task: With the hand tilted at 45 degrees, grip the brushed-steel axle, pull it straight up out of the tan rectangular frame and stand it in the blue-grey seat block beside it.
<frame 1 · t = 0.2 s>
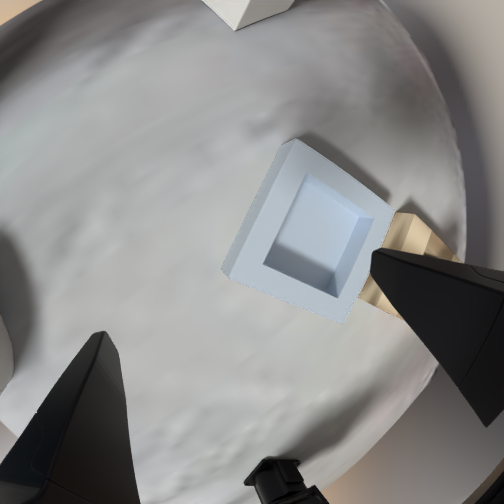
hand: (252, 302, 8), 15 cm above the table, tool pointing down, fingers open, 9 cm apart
seat block: (308, 234, 25), on the table
milk carton: (240, 1, 20), on the table
tan rectangular frame: (411, 276, 31), on the table
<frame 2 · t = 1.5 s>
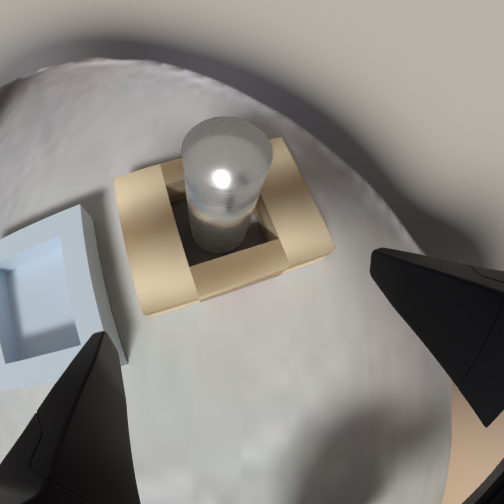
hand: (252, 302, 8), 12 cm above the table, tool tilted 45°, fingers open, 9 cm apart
steel axle: (221, 196, 17), in the tan rectangular frame
seat block: (46, 307, 18), on the table
tan rectangular frame: (218, 226, 22), on the table
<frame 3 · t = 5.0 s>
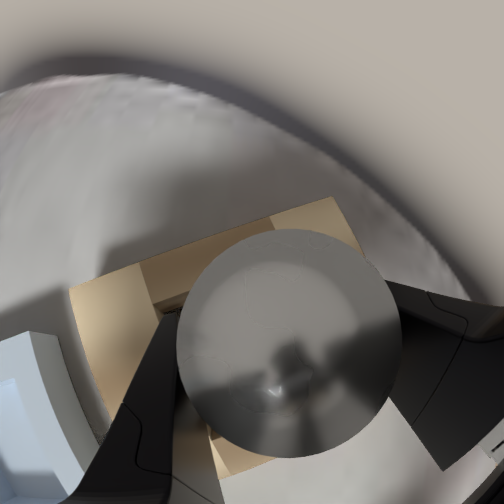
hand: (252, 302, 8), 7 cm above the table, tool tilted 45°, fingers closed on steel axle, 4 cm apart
steel axle: (258, 346, 9), in the tan rectangular frame, touching gripper
seat block: (26, 443, 9), on the table
tan rectangular frame: (243, 347, 14), on the table
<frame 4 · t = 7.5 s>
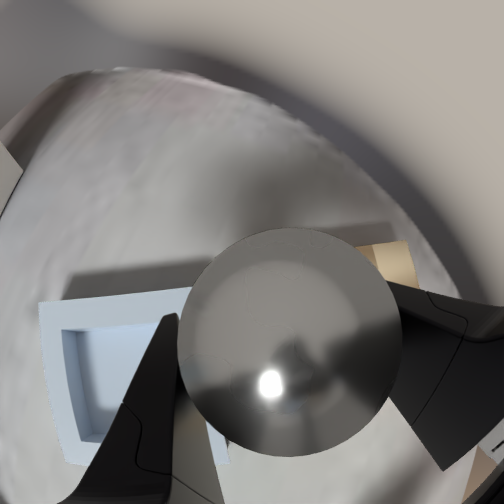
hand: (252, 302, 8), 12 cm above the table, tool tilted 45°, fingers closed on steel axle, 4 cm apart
steel axle: (259, 346, 9), point 11 cm above the table, touching gripper
seat block: (132, 382, 17), on the table
tan rectangular frame: (335, 324, 21), on the table
when the fingers open (8 cm above the table, at t = 10.1 s): steel axle drops 1 cm, resting on seat block.
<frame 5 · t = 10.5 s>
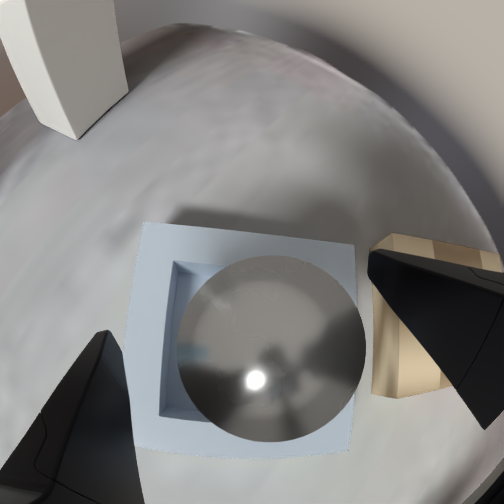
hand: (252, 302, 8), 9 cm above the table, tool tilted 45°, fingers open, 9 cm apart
steel axle: (251, 349, 11), in the seat block, point 6 cm above the table
seat block: (239, 347, 16), on the table
milk carton: (82, 108, 21), on the table
tan rectangular frame: (441, 318, 18), on the table
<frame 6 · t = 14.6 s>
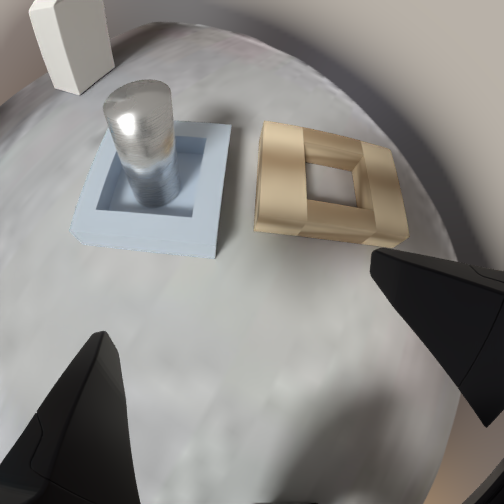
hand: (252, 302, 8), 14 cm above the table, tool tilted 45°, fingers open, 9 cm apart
steel axle: (147, 149, 19), in the seat block, point 6 cm above the table
seat block: (157, 189, 24), on the table
milk carton: (84, 78, 29), on the table
tan rectangular frame: (327, 191, 27), on the table
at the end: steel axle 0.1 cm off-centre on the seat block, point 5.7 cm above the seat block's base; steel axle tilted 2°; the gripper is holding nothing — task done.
